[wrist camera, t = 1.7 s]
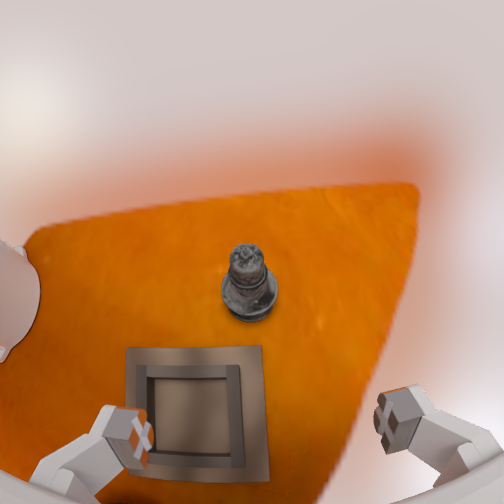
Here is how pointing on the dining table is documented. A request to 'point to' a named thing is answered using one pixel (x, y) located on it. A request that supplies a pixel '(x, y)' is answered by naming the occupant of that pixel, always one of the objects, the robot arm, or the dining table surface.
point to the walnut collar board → (201, 412)
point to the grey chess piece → (249, 284)
